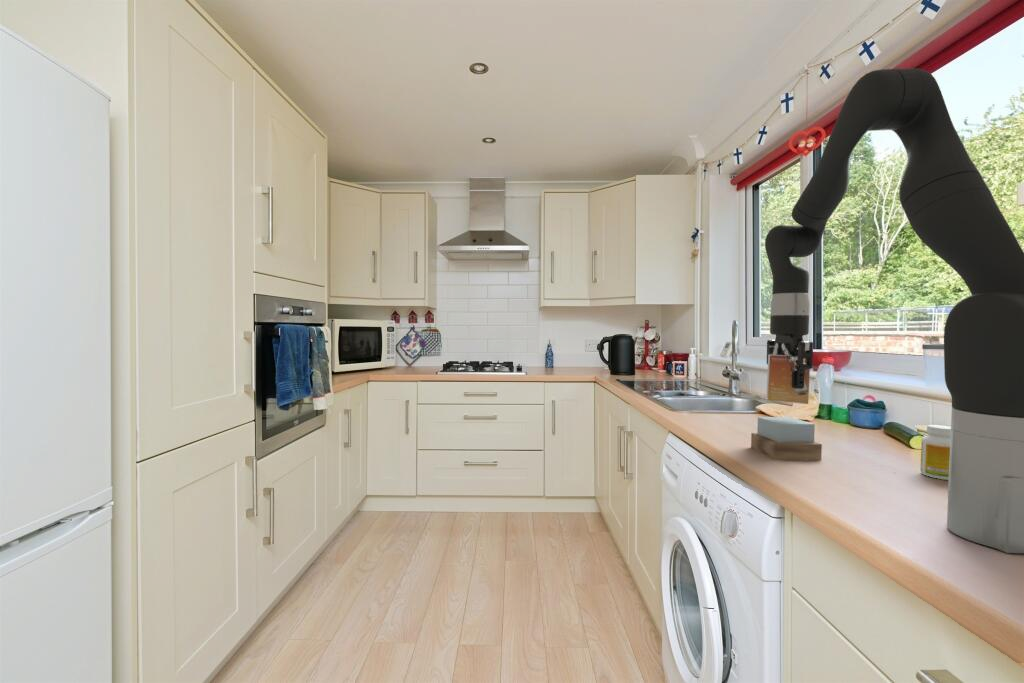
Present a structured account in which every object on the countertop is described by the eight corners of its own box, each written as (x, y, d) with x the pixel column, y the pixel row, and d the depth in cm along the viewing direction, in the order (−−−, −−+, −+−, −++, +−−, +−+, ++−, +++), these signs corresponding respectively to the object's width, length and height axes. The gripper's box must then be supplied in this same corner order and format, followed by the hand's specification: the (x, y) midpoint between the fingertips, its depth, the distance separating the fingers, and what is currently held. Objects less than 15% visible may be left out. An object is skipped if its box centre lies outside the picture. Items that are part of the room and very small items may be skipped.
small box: (767, 401, 102) (768, 354, 102) (766, 398, 107) (767, 353, 107) (809, 404, 99) (810, 356, 98) (806, 400, 104) (807, 355, 103)
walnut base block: (821, 462, 98) (821, 444, 98) (774, 461, 98) (775, 443, 98) (793, 450, 108) (793, 433, 108) (751, 449, 108) (751, 433, 108)
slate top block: (814, 442, 99) (814, 424, 99) (779, 442, 99) (779, 424, 99) (789, 433, 107) (790, 417, 107) (757, 433, 107) (757, 417, 107)
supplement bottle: (966, 482, 85) (968, 430, 84) (932, 479, 86) (934, 429, 85) (944, 473, 90) (946, 424, 90) (913, 471, 91) (915, 423, 91)
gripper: (827, 313, 95) (824, 390, 96) (787, 315, 109) (785, 382, 110) (791, 312, 95) (789, 390, 96) (756, 314, 110) (754, 382, 110)
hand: (787, 386), depth 103 cm, fingers closed on small box, 7 cm apart
